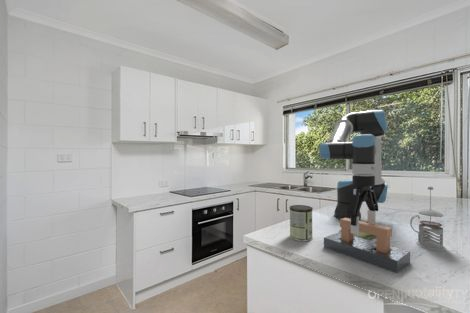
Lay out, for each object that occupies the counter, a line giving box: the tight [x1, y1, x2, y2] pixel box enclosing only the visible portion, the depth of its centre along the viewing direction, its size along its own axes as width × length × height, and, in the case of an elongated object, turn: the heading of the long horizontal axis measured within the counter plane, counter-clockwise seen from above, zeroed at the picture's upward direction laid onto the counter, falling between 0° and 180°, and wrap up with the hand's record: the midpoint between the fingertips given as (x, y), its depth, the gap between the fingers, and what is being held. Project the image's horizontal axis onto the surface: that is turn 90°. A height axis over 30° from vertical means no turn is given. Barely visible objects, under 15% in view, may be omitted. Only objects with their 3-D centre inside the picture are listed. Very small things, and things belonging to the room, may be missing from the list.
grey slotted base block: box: [323, 231, 411, 274], centre depth 87 cm, size 26×12×4 cm, turn 36°
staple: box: [339, 218, 393, 254], centre depth 87 cm, size 17×4×12 cm, turn 36°
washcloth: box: [338, 229, 376, 241], centre depth 110 cm, size 13×18×3 cm
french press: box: [409, 186, 447, 252], centre depth 96 cm, size 10×12×25 cm
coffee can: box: [289, 204, 314, 242], centre depth 106 cm, size 10×10×14 cm
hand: (363, 230), depth 87 cm, fingers open, 13 cm apart
